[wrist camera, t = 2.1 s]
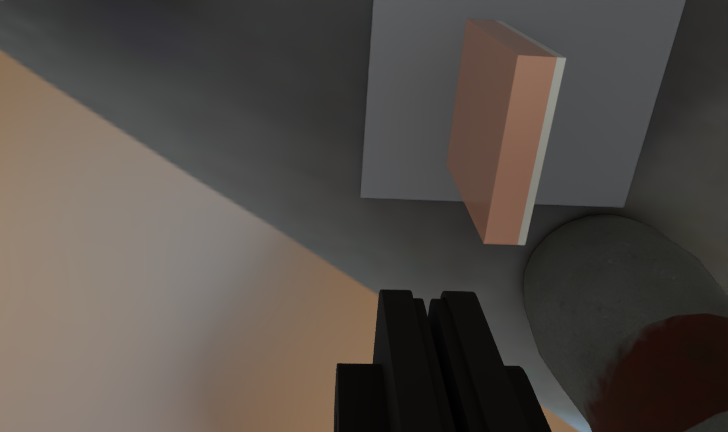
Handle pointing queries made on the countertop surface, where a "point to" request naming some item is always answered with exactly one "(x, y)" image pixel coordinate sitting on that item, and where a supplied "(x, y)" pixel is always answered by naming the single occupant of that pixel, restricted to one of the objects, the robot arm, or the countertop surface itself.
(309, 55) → the countertop surface
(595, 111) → the mat
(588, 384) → the bottle
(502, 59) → the tile
